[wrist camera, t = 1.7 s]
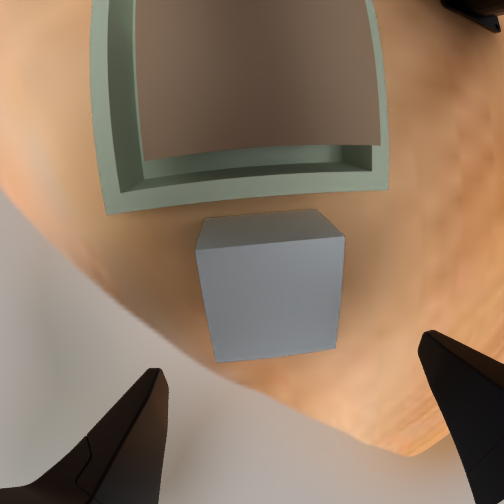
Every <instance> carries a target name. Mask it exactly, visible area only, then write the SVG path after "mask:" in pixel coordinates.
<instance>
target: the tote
mask: <svg viewBox="0 0 504 504" xmlns="http://www.w3.org/2000/svg"><path fill="white" fill-rule="evenodd" d="M365 3H366V7H367V13H368V18H369V23H370V29H371V35H372V42H373V49H374V56H375V65H376V74H377V84H378V96H379V111H380V135H381V146H375V145H296V146H274V147H258V148H245V149H234V150H223V151H214V152H205V153H197V154H189V155H182V156H175V157H168V158H162V159H155V160H149V161H144V155H143V147H142V138H141V129H140V119H139V107H138V94H137V77H136V52H135V6H136V0H93V1H92V13H91V29H90V88H91V106H92V119H93V129H94V139H95V147H96V155H97V162H98V169H99V176H100V182H101V188H102V193H103V199H104V204H105V209H106V214H107V215H112V214H119V213H125V212H132V211H139V210H146V209H154V208H161V207H169V206H177V205H185V204H194V203H203V202H212V201H221V200H232V199H242V198H253V197H265V196H278V195H292V194H308V193H326V192H347V191H377V190H388V177H389V137H388V111H387V96H386V84H385V74H384V65H383V57H382V49H381V43H380V36H379V30H378V24H377V19H376V14H375V9H374V4H373V0H365Z"/></svg>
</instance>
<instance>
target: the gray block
mask: <svg viewBox="0 0 504 504" xmlns="http://www.w3.org/2000/svg"><path fill="white" fill-rule="evenodd" d="M344 247H345V236H344V235H343V234H342V233H341V232H340V231H339V230H338V229H337V228H336V227H335V226H334V225H333V224H332V223H331V222H330V221H329V220H328V219H327V218H326V217H324V216H323V215H322V214H321V213H320V212H319V211H318V210H317V209H307V210H294V211H281V212H269V213H258V214H247V215H236V216H226V217H216V218H206V219H204V221H203V224H202V228H201V231H200V235H199V238H198V241H197V245H196V248H195V255H196V261H197V267H198V272H199V278H200V284H201V289H202V295H203V300H204V306H205V311H206V316H207V321H208V326H209V331H210V336H211V341H212V346H213V351H214V355H215V360H216V363H220V362H234V361H245V360H255V359H265V358H274V357H282V356H290V355H297V354H304V353H310V352H317V351H323V350H329V349H335V348H336V340H337V331H338V323H339V313H340V303H341V292H342V279H343V265H344Z"/></svg>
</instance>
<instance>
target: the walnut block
mask: <svg viewBox="0 0 504 504" xmlns="http://www.w3.org/2000/svg"><path fill="white" fill-rule="evenodd" d="M135 52H136V77H137V94H138V107H139V119H140V129H141V138H142V147H143V155H144V161H149V160H155V159H162V158H168V157H175V156H182V155H189V154H197V153H205V152H214V151H223V150H234V149H245V148H258V147H274V146H296V145H375V146H381V135H380V111H379V96H378V84H377V74H376V65H375V56H374V49H373V42H372V35H371V29H370V23H369V18H368V13H367V7H366V3H365V0H136V6H135Z"/></svg>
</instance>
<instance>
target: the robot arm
mask: <svg viewBox="0 0 504 504" xmlns="http://www.w3.org/2000/svg"><path fill="white" fill-rule="evenodd" d="M441 2H442V4H443V5H444V6H445V7H446V8H447V9H450V10H452V11H454V12H456V13H459V14H461V15H463V16H465V17H467V18H469V19H471V20H473V21H475V22H477V23H479V24H481V25H482V26H484V27H486V28H488V29H490V30H491V31H493V32H495V33H499V32H501V29H500V25H499V21H498V18H497V16H499V15H504V0H441ZM418 356H419V358H420V361H421V364H422V366H423V369H424V372H425V375H426V377H427V380H428V383H429V386H430V388H431V390H432V393H433V395H434V397H435V399H436V401H437V403H438V406H439V408H440V410H441V412H442V415H443V417H444V419H445V421H446V424H447V426H448V428H449V431H450V433H451V435H452V438H453V440H454V443H455V445H456V448H457V450H458V453H459V456H460V458H461V461H462V464H463V466H464V469H465V472H466V475H467V478H468V481H469V484H470V487H471V490H472V493H473V497H474V500H475V503H476V504H498V503H499V502H501V501H502V500H503V499H504V364H502V363H500V362H498V361H496V360H494V359H492V358H490V357H488V356H486V355H484V354H482V353H480V352H478V351H476V350H474V349H472V348H470V347H468V346H466V345H464V344H462V343H460V342H458V341H456V340H454V339H452V338H450V337H448V336H446V335H444V334H442V333H440V332H438V331H435V330H430V331H426V332H424V333H423V335H422V338H421V341H420V344H419V347H418ZM168 394H169V389H168V384H167V381H166V379H165V376H164V374H163V371H162V370H161V369H160V368H149V369H147V371H146V372H145V373H144V374H143V375H142V376H141V377H140V378H139V379H138V380H137V381H136V382H135V384H133V386H132V387H131V388H130V389H129V390H128V391H127V392H126V393H125V394H124V395H123V397H121V398H120V400H119V401H118V402H117V403H116V404H115V405H114V406H113V407H112V408H111V409H110V410H109V411H108V412H107V413H106V415H105V416H104V417H103V418H102V419H101V420H100V421H99V422H98V423H97V424H96V425H95V426H94V427H93V428H92V430H90V432H89V433H88V434H87V436H85V437H84V438H83V439H82V440H81V441H80V442H79V443H78V444H77V445H76V446H75V447H74V448H73V449H72V450H71V451H70V452H69V453H68V454H67V455H66V456H65V457H64V458H62V459H61V460H60V461H59V462H58V463H57V464H56V465H54V466H53V467H52V468H51V469H49V470H48V471H47V472H46V473H44V474H43V475H42V476H41V477H40V478H38V479H37V480H36V481H34V482H32V483H30V484H28V485H25V486H21V487H12V488H2V489H0V504H158V501H159V491H160V483H161V474H162V466H163V459H164V451H165V444H166V437H167V426H168V396H169V395H168Z"/></svg>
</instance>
